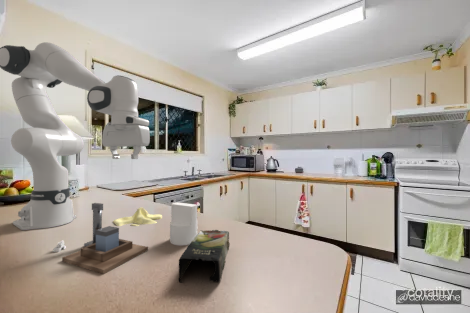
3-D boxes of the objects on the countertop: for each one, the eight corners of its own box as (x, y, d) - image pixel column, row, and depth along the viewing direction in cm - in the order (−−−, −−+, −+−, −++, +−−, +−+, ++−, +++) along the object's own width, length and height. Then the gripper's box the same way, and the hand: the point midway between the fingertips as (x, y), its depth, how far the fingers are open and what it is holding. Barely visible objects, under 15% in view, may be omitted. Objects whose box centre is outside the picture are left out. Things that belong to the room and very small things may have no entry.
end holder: (62, 261, 57) (62, 250, 57) (110, 241, 70) (110, 232, 70) (103, 274, 51) (103, 261, 51) (147, 250, 64) (148, 240, 64)
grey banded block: (95, 253, 60) (95, 230, 60) (109, 247, 63) (109, 226, 63) (105, 256, 58) (105, 232, 58) (118, 250, 62) (118, 227, 62)
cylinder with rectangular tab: (202, 237, 74) (202, 203, 74) (186, 247, 66) (186, 208, 66) (181, 233, 78) (182, 200, 78) (164, 242, 70) (164, 205, 70)
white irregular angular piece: (61, 253, 63) (61, 242, 63) (51, 253, 62) (51, 243, 62) (67, 248, 66) (67, 238, 66) (57, 249, 65) (57, 239, 65)
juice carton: (198, 245, 68) (199, 226, 68) (230, 247, 67) (230, 227, 67) (176, 284, 48) (176, 257, 48) (220, 287, 47) (221, 259, 47)
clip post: (84, 246, 67) (84, 204, 67) (99, 240, 71) (99, 201, 71) (94, 248, 65) (95, 206, 65) (110, 242, 69) (110, 202, 69)
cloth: (103, 226, 87) (103, 211, 87) (134, 214, 105) (134, 201, 105) (151, 231, 82) (151, 215, 82) (175, 217, 100) (175, 204, 100)
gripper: (97, 121, 80) (97, 158, 80) (139, 118, 72) (138, 159, 72) (112, 124, 85) (112, 158, 85) (152, 121, 78) (152, 159, 78)
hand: (125, 158), depth 79 cm, fingers open, 8 cm apart
